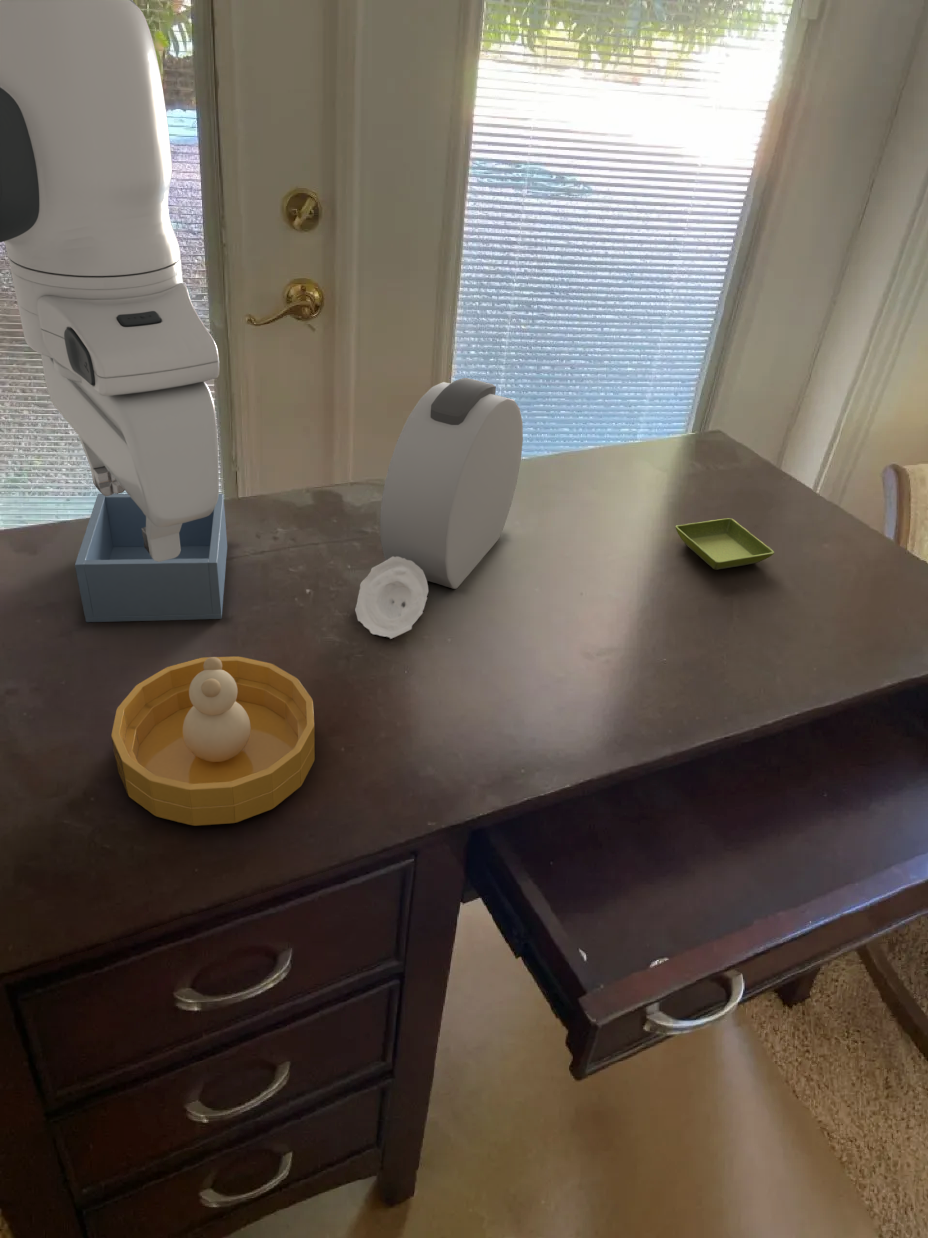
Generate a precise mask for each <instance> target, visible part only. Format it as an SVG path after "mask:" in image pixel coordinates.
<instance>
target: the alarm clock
mask: <svg viewBox="0 0 928 1238" xmlns="http://www.w3.org/2000/svg"><path fill="white" fill-rule="evenodd" d="M496 389H497V387H496V386H495V385H494V384H493V383H489V382H485V381H483V380H479V379H478V380H477V379H473V378H469V377H462V378H458V379H456V380H454V381H453V382H451V383H450V382H446V381H442V382H440V383H438V384H435V385H433V386H431V387H430V388H429V389H428V390H427V392H425V393H424V394H423V395H422V396H421V397H420V398H419V399H418V401H417V403H416V405H415V406H414V408H413V409H412V410H411V412H410V414H409V415H408V417H407V419H406V421H405V423H404V425H403V427H402V430H401V432H400V434H399V436H398V438H397V440H396V443H395V446H394V449H393V451H392V455H391V459H390V461H389V465H388V467H387V472H386V477H385V481H384V487H383V491H382V495H381V496H382V497H381V505H380V507H381V508H380V516H379V532H380V536H379V537H380V538H379V539H380V544H381V549H382V554H383V558H384V559H385V561H386V560H388V559H389V558H391V557H401V558H402V559H403V558H405V559H406V560H411V561H413V562H414V563H415V564H416V565H417V566H419V567H420V569H422V570H423V572H424V575H425V577H426V580H427V582H430V583H434V584H437V585H440V586H443V587H446V588H449V589H453V590H457V589H458V588H459V587H460V585H461V584H462V583H463V582H464V581H465V580H466V578H467V577H468V576H469V575H470V574H471V573H472V572H473V570H474V569H475V568H476V567H477V565H478V564H479V563H480V562H481V561H482V560H483V558H484V557H485V556H486V555H487V554H488V553H489V551H490V550H491V549H492V548H493V547H494V546H495V544H496V543H497V542H498V541H499V540H500V538H501V535H502V532H503V530H504V528H505V525H506V522H507V519H508V516H509V513H510V510H511V507H512V503H513V500H514V497H515V492H516V489H517V484H518V479H519V473H520V470H521V469H520V468H521V463H522V453H523V444H524V422H523V418H522V412H521V408H520V407H519V405H518V404H517V402H516V401H515V400H514V398H509V397H505V396H502V395H498V394H496Z"/></svg>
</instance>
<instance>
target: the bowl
mask: <svg viewBox="0 0 928 1238" xmlns="http://www.w3.org/2000/svg"><path fill="white" fill-rule="evenodd" d="M210 657H211V656H208V657H207V656H206V657H199V658H195V659H192V660H188V661H184V662H181V663H177V664H173V665H170V666H166V667H164V668H163V669H161V670H160V671H158V672H156V673H154V674H153V675H151V676H149V677H148V678H146V679H144V680H142V681H140V682H139V683H137V684H136V685H135V686H134V687H133V688H132V690H130V692H129V693H128V694H127V696H126V697H125V698H124V699H123V700H122V702H120V704H119V705H118V706H117V707H116V711H115V716H114V720H113V724H112V730H111V734H110V736H111V737H110V738H111V743H112V747H113V753H114V758H115V764H116V768H117V773H118V775H119V777H120V780H121V782H122V785H123V787H124V789H125V791H126V794H127V796H128V797H129V798H130V799H131V800H132V801H134V802H135V803H137V804H138V805H139V806H141V807H142V808H143V809H145V810H146V811H147V812H148V813H150V814H151V815H153V816H155V817H157V818H161V819H164V820H168V821H173V822H177V823H179V824H180V823H181V824H184V825H188V826H194V827H196V826H197V827H198V826H211V825H225V824H227V825H228V824H235V823H239V822H242V821H245V820H247V819H250V818H252V817H255V816H258V815H260V814H263V813H267V812H268V811H271V810H273V809H275V808H276V807H277V806H279V804H281V803H282V802H283V801H285V800H286V799H287V798H288V797H290V796H291V795H292V794H293V793H294V792H296V791H297V790H298V789H300V787H302V785H303V784H304V782H305V780H306V778H307V776H308V774H309V772H310V770H311V769H312V766H313V764H314V762H315V760H316V757H315V755H316V754H315V752H316V751H315V746H316V745H315V744H316V743H315V741H316V740H315V713H314V700H313V698H312V697H311V695H310V694H309V692H308V690H307V689H306V688H305V687H304V686H303V684H302V683H301V681H300V680H299V678H297V677H296V676H294V675H292V674H290V673H289V672H287V671H285V670H284V669H282V668H280V667H279V666H277V665H275V664H274V663H271V662H266V661H262V660H257V659H252V658H248V657H243V656H215V657H216V658H218V659H220V661H221V662H222V670H224V671H226V672H227V673H229V674H230V675H231V676H232V677H233V678H234V680H235V682H236V685H237V698H236V702H237V703H239V704H240V705H241V706H242V707H243V708H244V710H245V711H246V713H247V715H248V717H249V720H250V727H251V730H250V736H249V739H248V742H247V744H246V745H245V747H244V748H243V750H242V751H241V752H240V753H239V754H237V755H236V756H235V757H233V758H231V759H229V760H226V761H222V762H210V761H205V760H203V759H200V758H199V757H197V756H195V755H194V754H193V753H192V752H191V751H190V750H189V748H188V747H187V745H186V743H185V741H184V737H183V723H184V720H185V717H186V715H187V713H188V712H189V710H190V709H191V708H192V707H193V704H192V703H191V700H190V697H189V688H190V684H191V682H192V680H193V679H194V677H195V676H196V675H197V674H199V673H200V672H202V671H204V667H203V665H204V662H205V660H206V659H208V658H210Z"/></svg>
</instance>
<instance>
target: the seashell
mask: <svg viewBox="0 0 928 1238" xmlns="http://www.w3.org/2000/svg"><path fill="white" fill-rule="evenodd" d="M370 569H371V570H370V572H369V573H368V574H367V576H365V577H364V579H362V581H360V584H359V590H358V595H357V600H356V604H355V608H354V611H355V615H356V619H357V622H360V623H361V624H362V627H364V628H366V629H367V630H368V631H369V633H370V634H372V635H376V636H379V637H383V638H384V637H386V638H389V639H390V640H391V639H393V638H396V637H398V636H401V635H403V634H405V633H407V632H409V631H411V630H413V625H414V624H415V623H416V622H417V621H418V619H419V618H420V617H421V616H422V615H423V614H424V612H423V611H424V610H425V606H426V602H427V600H428V597H427V596H428V594H429V585H428V581H427V580H426V577H425V575H424V572H423V570H422V569H420V567H419V566H417V565H416V564H415V563H414V562H413V561H411V560H406V559H405V558H403V559H402V558H401V557H391V558H389V559H388V560H386V559H385V560H384V561H382V562H381V563H379V564H376V565H375V566H373V567H371V568H370Z"/></svg>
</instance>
